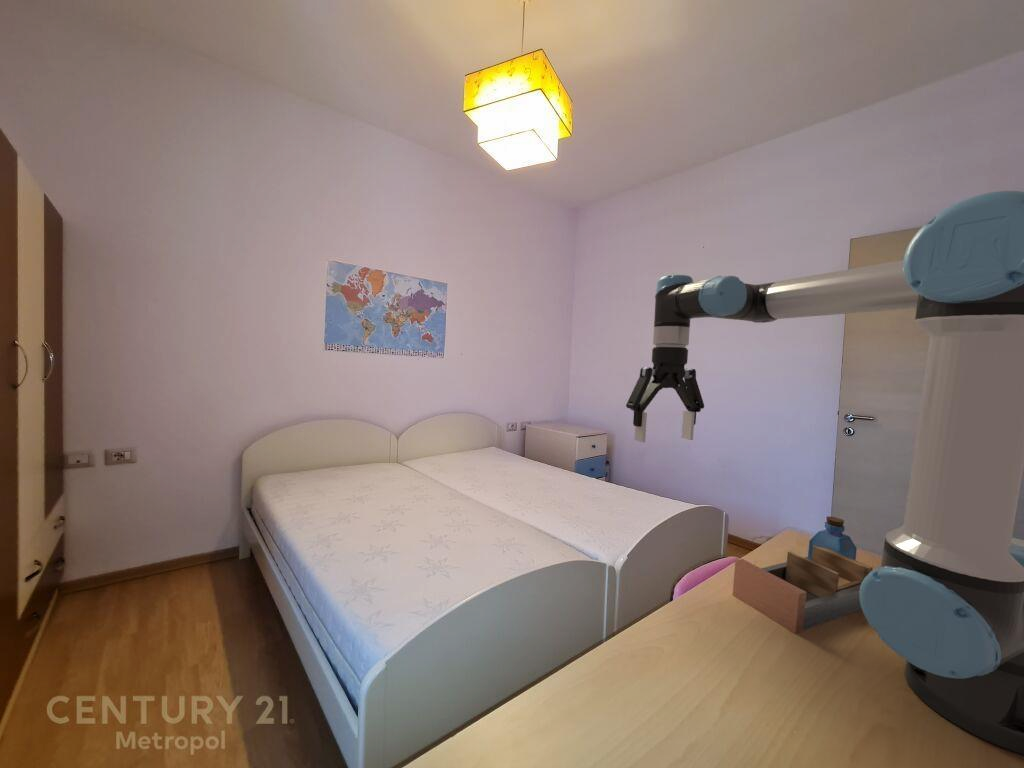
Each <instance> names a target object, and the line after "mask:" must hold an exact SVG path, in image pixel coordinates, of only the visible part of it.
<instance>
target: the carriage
mask: <svg viewBox="0 0 1024 768" xmlns="http://www.w3.org/2000/svg"><path fill="white" fill-rule="evenodd" d="M804 557H805V556H801V555H800V554H797V553H795V552H792V551H787V556H786V562H787V566H786V576H785V580H786V581H788V582H790V583H792V584H794V585H796V586H798V587H800V588H802V589H804V590H806V591H808V592H810V593H812V594H813V595H815V596H817V597H819V598H820V597H823V596H826V595H829V594H832V593H835V592H838V591H841V590H845V589H848V588H851V587H854V586H857V585H860V584H861V583H862V581H863V580H864V578H865V577H866V576H867V575H868V574H869V573H870V572H871V571H873V570H874V568H873V566H871V565H868V564H866V563H863V562H862V561H858V560H854V559H851V558H849V557H846V556H844V555H842V554H839V553H837V552H834V551H832V550H829V549H827V548H824V547H821V548H820V547H817V546H815V545H814V546H813V549H812V559H811V561H810V560H808V559H806V558H804Z"/></svg>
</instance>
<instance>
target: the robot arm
mask: <svg viewBox="0 0 1024 768" xmlns="http://www.w3.org/2000/svg"><path fill="white" fill-rule="evenodd" d="M654 298H655V302H654V303H655V305H654V323H653V338H652V344H653V345H654V347H653V348H652V353H651V363H652V364H653V365H652V367H648V366H647V367H646V366H642V367H641V368H640V371H639V377H638V379H637V380H636V383H635V386H633V387H634V388H633V389H632V392H631V394H630V396H629V398H628V400H627V403H626V408H627V409H630V410H631V411H633V422H632V425H633V426H634V427H635V428H634V441H637V442H640V443H646V437H647V435H646V432H647V419H648V418H647V417H648V413H647V412H645V410H646V409H647V407H648V406H649V405H650V404H651V402H652V401H653V400H654V398H655V397H656V395H657V394H658V393H659V392H660V391H661V390H663V389H673V390H674V391H675V392H676V394H677V395H678V397H679V399H680V401H681V402H682V404H683V406H684V407H685V409H686V410H683V411H682V412H683V413H682V426H681V427H682V428H681V438H682V439H685V440H689V441H693V440H694V429H695V425H696V422H697V420H696V418H697V413H700V412H701V410H702V409H704V408H705V403H704V399H703V397H702V394H701V391H700V388H699V387H700V386H699V384H698V380H697V371H696V369H695V368H685V366H686V365H687V364H688V360H689V359H688V356H689V349H688V348H686V346H689V344H690V327H691V319H701V318H715V319H717V318H718V319H725V320H727V319H728V320H734V321H736V320H738V321H746V322H752V323H756V324H757V323H761V324H762V323H763V324H764V323H772V322H774V321H777V320H781V319H783V320H784V319H796V318H808V317H820V316H822V317H823V316H833V315H847V314H856V313H857V314H858V313H859V314H860V313H870V312H871V313H872V312H874V313H875V312H884V311H896V310H900V311H901V310H910V309H911V310H912V309H915V318H914V323H915V325H916V326H918V327H919V328H921V329H922V330H923V331H925V333H927V335H928V337H929V343H928V351H927V357H926V365H925V372H924V378H923V379H924V380H923V387H922V392H921V398H920V399H921V400H920V401H921V402H920V406H919V407H920V408H919V413H918V414H919V415H918V421H917V428H916V435H915V442H914V443H915V444H914V449H913V455H912V456H913V458H912V463H911V470H910V471H911V472H910V476H909V477H910V478H909V486H908V492H907V498H906V505H905V506H906V507H905V512H904V519H903V520H904V521H903V524H902V525H901V526H900V527H896V528H895V529H893V530H892V529H891V530H890V531H887V532H886V534H885V538H884V543H883V544H884V545H883V550H882V559H881V563H880V565H881V566H880V567H877V568H875V569H873V570H872V571H871V572H870V573H869V574H868V575H867V576H866V577H865V578H864V580H863V581H862V583H861V586H860V590H859V598H860V604H861V608H862V609H861V611H862V612H863V613H862V614H863V615H864V617H865V619H866V621H867V622H868V624H869V626H870V627H872V628H873V629H874V631H875V632H876V633H877V635H878V637H879V638H880V640H881V641H882V642H884V644H885V645H886V646H887V647H889V648H890V649H891V650H892V651H893V652H894V653H896V654H897V655H898V656H899V657H901V658H902V659H904V660H905V669H904V679H905V681H906V683H907V685H908V686H909V688H910V689H911V690H912V692H913V693H915V695H916V696H917V697H918V698H919V699H920V700H921V701H922V702H924V703H925V704H926V705H927V706H929V707H930V708H931V709H932V710H933V711H935V712H936V713H938V714H939V715H941V716H942V717H943V718H945V719H946V720H949V722H951V723H953V724H955V725H956V726H957V727H960V728H962V729H963V730H965V731H967V732H969V733H971V734H972V735H975V736H976V737H978V738H980V739H983V740H984V741H987V742H989V743H992V744H994V745H996V746H998V747H1001V748H1003V749H1006V750H1010V751H1012V752H1015V753H1017V754H1021V755H1024V546H1022V545H1018V544H1016V543H1013V542H1012V538H1013V533H1014V526H1015V521H1016V514H1017V508H1018V503H1019V496H1020V490H1021V486H1022V485H1021V484H1022V480H1023V473H1024V191H1020V190H1001V191H1000V190H999V191H991V192H987V193H981V194H977V195H975V196H971V197H969V198H966V199H963V200H961V201H959V202H956V203H954V204H951V205H950V206H948V207H946V208H945V209H944V210H942V211H940V212H939V213H937V214H936V215H935V216H934V217H932V218H931V219H930V220H929V221H928V222H927V223H925V224H923V225H922V226H921V228H920V229H918V231H917V232H916V233H915V234H914V236H913V237H912V238H911V240H910V242H909V244H908V245H907V247H906V250H905V252H904V255H903V260H898V261H891V262H884V263H878V264H873V265H867V266H861V267H854V268H849V269H843V270H838V271H832V272H827V273H820V274H814V275H808V276H802V277H801V276H800V277H796V278H791V279H784V280H779V281H778V280H777V281H773V282H767V283H760V284H753V283H752V284H750V283H745V282H744V281H742V280H741V279H740V278H739V277H738V276H735V275H725V276H723V275H722V276H721V275H719V276H714V277H710V278H709V279H702V280H697V281H694V279H693V278H692V276H690V275H685V274H672V275H665V276H662V277H660V278H659V279H658V280H657V282H656V292H655V295H654Z"/></svg>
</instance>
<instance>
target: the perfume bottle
mask: <svg viewBox="0 0 1024 768" xmlns="http://www.w3.org/2000/svg"><path fill="white" fill-rule="evenodd" d="M844 524H845V520H843V519H842V518H839V517H836V516H826V521H824V528H825V530H824V529H823V530H819V531H817V532H816V533H815V535H814V536H813V537H812V538H811V539H810V540H809V542H808V553H807V557H808V556H812V549H813V546H814V545H815V546H817V547H820V548H821V547H824V548H827V549H829V550H832V551H834V552H837V553H839V554H842V555H844V556H846V557H849V558H851V559H854V560H856V558H857V549H858V548H857V547H856V544H855V543H854V541H853V540H852V538H851V537H850V535H847V534H845V533H844V532H845V525H844ZM856 561H857V560H856Z"/></svg>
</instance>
